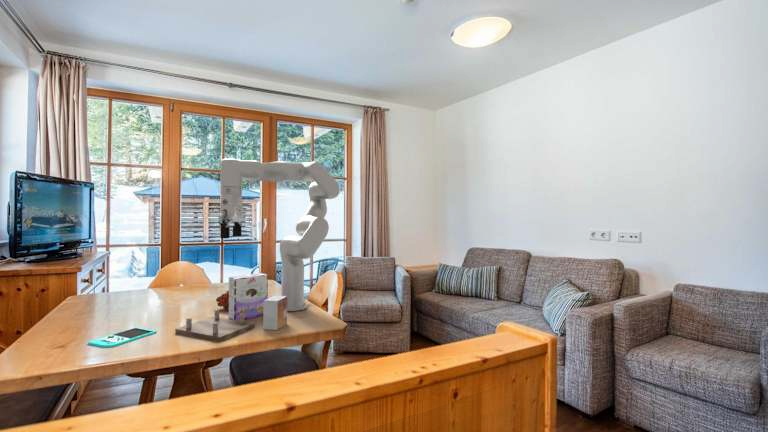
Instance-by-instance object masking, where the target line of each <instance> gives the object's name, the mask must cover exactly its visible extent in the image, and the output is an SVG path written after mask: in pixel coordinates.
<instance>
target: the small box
mask: <svg viewBox="0 0 768 432" xmlns="http://www.w3.org/2000/svg"><path fill="white" fill-rule="evenodd" d="M263 302H264V303H263V315H262V317H263V319H262V320H263V321H262V324H263V327H262V329H263V330H269V331H272V330H273V331H278V330H279V329H281V328H282V327H284V326H286V325H287V324H288V311H287V296H281V295H273V296H271V297H269V298H268V299H266V300H264V301H263Z"/></svg>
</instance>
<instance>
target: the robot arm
mask: <svg viewBox="0 0 768 432" xmlns="http://www.w3.org/2000/svg"><path fill="white" fill-rule="evenodd" d="M244 181H245V182H249V181H250V182H251V181H252V182H255V181H256V182H276V183H283V182H285V183H287V182H289V183H291V182H292V183H294V182H295V183H306V182H307V183H310V182H311V183H310V185H309V186H308V196H309V199H310V200H309V206H308V207H307V209H306V211H305V212H304V213H303V214H302V216H301V217H300V218H299V221H298V222H297V223H296V226H295V231H296V233H297V234H298V235H297V234H290V235H286V236H284V237H283V238H282V239H281V241H280V243H279V254H280V260H281V261H280V262H281V288H280V289H281V293H280V294H281V295H280V296H287V312H299V311H303V310H306V309H307V308H308V304H307V303H306V302H305V301H307V300H308V299H309V297H310V296H309V294H305V295H304V293H305V289H304V288H305V263H304V260H308V259H310V258H312V257H313V256H314V255H315V254H316V252H317V251H318V250H319V248H320V247H321V245H322V244H323V242H324V240H325V239H326V237H327V236H328V233H329V227H330V226H329V222H328V221H327V219H326V218H325V216H326V214H327V212H328V208H327V207H328V206H327V201H326V200H327V199H328V200H332V199H335V198H337V197H338V196H339V194H340V191H341V189H340V185H339V183H338V181H337V180H336V179H335V178H334V177H333V175H332V174H331V173H330V172H329V171H328V170H327V169H326V167H325V166H324V165H323V164H321V163H320V162H318V161H311V162H298V161H297V162H294V161H282V160H281V161H280V160H279V161H271V162H261V161H259V160H253V159H248V160H247V159H246V160H245V159H243V160H241V159H238V158H223V159H222V160H221V161H220V204H219V205H220V206H219V207H220V208H219V209H220V210H219V214H218V216H217V218H218V223H219V229H220V230H219V231H220V232H219V233H220V234H219V235H220V238H221V239H230V236H231V235H230V232H231V231H230V230H231V229H230V227H229V226H230V224H231V222H232V225H233V226H232V237H242V226H243V223H242V222H243V221H244V205H243V182H244Z"/></svg>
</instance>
